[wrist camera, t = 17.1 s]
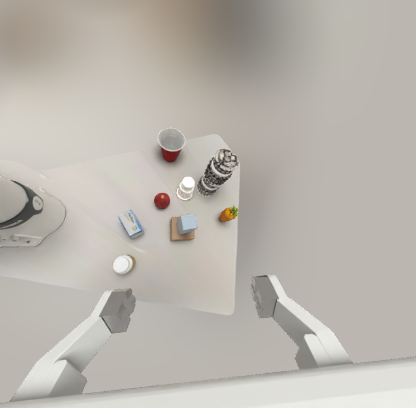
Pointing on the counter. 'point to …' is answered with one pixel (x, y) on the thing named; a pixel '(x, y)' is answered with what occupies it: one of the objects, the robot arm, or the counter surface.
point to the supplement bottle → (123, 264)
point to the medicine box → (131, 224)
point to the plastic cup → (171, 143)
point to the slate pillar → (186, 224)
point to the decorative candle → (217, 172)
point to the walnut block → (175, 234)
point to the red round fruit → (162, 200)
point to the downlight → (186, 188)
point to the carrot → (228, 214)
